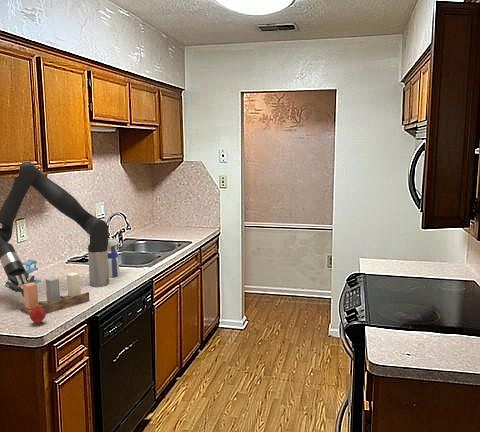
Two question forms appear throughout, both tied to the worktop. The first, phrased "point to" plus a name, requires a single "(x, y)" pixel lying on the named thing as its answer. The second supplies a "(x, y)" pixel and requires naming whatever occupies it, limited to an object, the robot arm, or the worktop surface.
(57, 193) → the robot arm
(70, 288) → the cream rectangular block
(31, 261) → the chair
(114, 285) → the worktop surface
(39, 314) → the onion
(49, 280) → the grey rectangular block
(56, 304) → the wooden divided tray
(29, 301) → the orange block
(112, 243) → the water bottle
